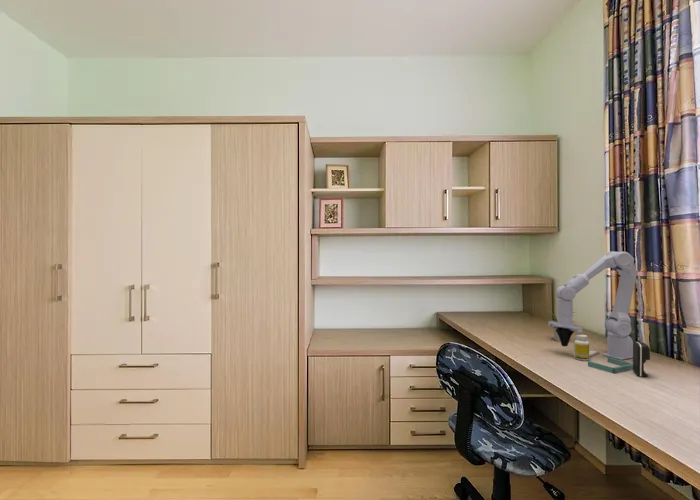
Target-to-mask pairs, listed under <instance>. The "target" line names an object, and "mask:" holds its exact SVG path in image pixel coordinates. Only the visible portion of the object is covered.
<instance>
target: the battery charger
mask: <svg viewBox="0 0 700 500" xmlns="http://www.w3.org/2000/svg"><path fill="white" fill-rule="evenodd" d="M650 360H651V350H650V346H649V345H647V343H644V342H641V341H633V358H632V363H633V370H632V372H634V374H635V375H636V376H638V377H644V378H645V377H648V374H647V373H646V372H645V370H644V366H645V364H646V362H647V361H650Z"/></svg>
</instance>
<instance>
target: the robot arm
mask: <svg viewBox="0 0 700 500" xmlns="http://www.w3.org/2000/svg"><path fill="white" fill-rule="evenodd" d="M634 261H635V257H633V255H631V254H630V253H629V252H627V251H616V250H615V251H612V250H611V251H608V252H607V253H606V254H605V255H603V256H602V257H601V258H599V259H598V260H597V261H596V262H595V263H594V264H593V265H591V267H589V268H588V269H587V270H586V271H585V272H583V273H577V274H573V275H572V278H571V279H570V280H568V281H567V282H564V283H563V285H560V286H558V287H557V289H556V291H554V293H555V296H556V297H557V307H556V308H557V315H556V316H557V317H556V319H557V322H554V321H547V322H548V325H547V326H548V327H552V328H553V327H558V329H556V332H557V333H558V335H559V338H560V341H559V342H560V344H561V347H568V346H569V342H570V340H571V337H572V335H573V334H574V333H575V332H576V333H579V334H581V333H583V327H581V326H578V325H575V324H574V320H573V318H574V317H573V316H574V313H573V312H574V308H573V307H574V306H573V305H574V304H573V301H574V300H575V298H576V295H577V294H579V292H580V291H582V290H583V289H585V288H586V287H587V286H588V285H589V283H590V280H591V279H593V278H594V277H596V276H597V275H598V274H600V273H601V272H602V271H604V270H606V269H611V268H613V269H615V270H616V271H617V272H618V274H619V275H620V277H619V282H618V286H617V290H616V295H615V299H614V300H615V301H614V305H613V309H612V311H611V312H610V313H609V314H608V317H607V319H606V320H605V321H604V328H605V329H606V331H607V334H606V335H607V341H606V344H607V345H606V346H607V348H606V349H607V350H606V352H604V353H602V356H605V357H610V358H614V359H618V360H622V361H624V360H628V359H633V343H634V341H633V339H632V337H631V336H629V335H631V332H632V330H633V329H632V325H631V322H632V320H631V318H630V316H629V312H630V307H631V304H632V299H633V294H634V289H635V286H636V280H637V275H638V270H637V268H636V265H635V262H634Z"/></svg>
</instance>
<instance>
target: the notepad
mask: <svg viewBox="0 0 700 500" xmlns="http://www.w3.org/2000/svg"><path fill="white" fill-rule="evenodd" d="M600 353H601V351H597V350H596V351H595V350H590V349H589V358H593V357H595V356H598V355H599V354H600Z"/></svg>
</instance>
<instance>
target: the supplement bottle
mask: <svg viewBox="0 0 700 500" xmlns="http://www.w3.org/2000/svg"><path fill="white" fill-rule="evenodd" d="M575 338H576V339H575V340H574V341H573V358H574V359H575V360H578V361H583V362H584V361H587V362H588V361H590V357H589V350H590V342H589V341H588V335H586V334H581V333H579V334H576V335H575Z"/></svg>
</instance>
